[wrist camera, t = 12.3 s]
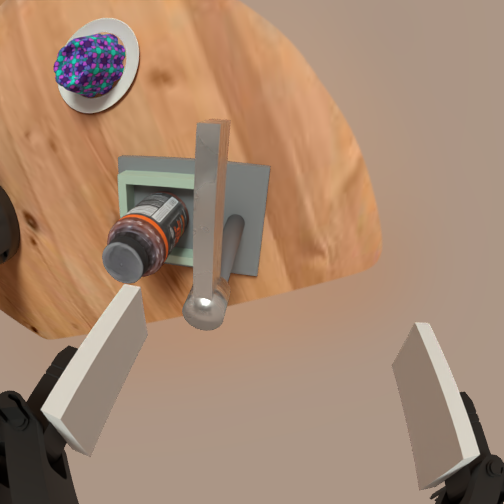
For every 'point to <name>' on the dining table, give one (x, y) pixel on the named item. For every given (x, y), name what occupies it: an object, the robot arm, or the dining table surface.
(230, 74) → the dining table surface
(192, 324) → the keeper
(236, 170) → the socket base
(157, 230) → the supplement bottle
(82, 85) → the pudding
